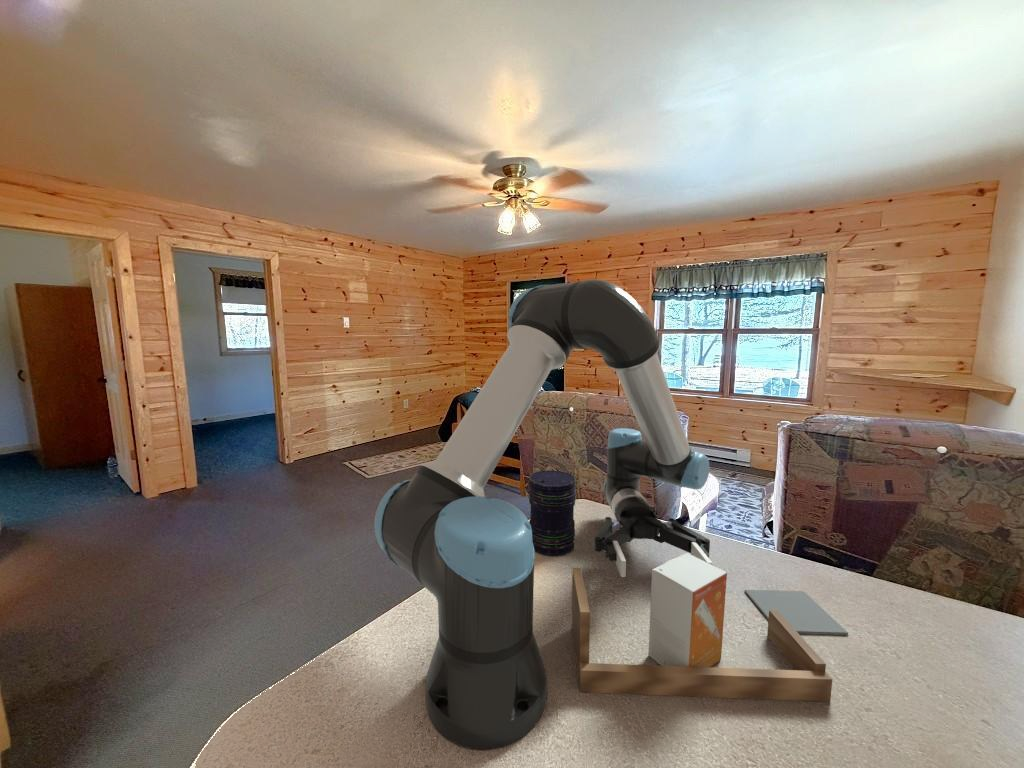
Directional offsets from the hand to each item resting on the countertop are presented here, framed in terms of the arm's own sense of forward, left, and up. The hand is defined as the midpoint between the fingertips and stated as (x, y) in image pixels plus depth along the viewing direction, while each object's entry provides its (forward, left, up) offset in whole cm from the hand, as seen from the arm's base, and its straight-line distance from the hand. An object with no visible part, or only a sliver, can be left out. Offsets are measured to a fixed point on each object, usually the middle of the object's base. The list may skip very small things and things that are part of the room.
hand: (666, 569), depth 65 cm
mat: (+21, +1, -7) cm, 22 cm away
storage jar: (-17, +21, -8) cm, 28 cm away
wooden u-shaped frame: (0, -9, -7) cm, 12 cm away
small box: (0, -9, -8) cm, 12 cm away
